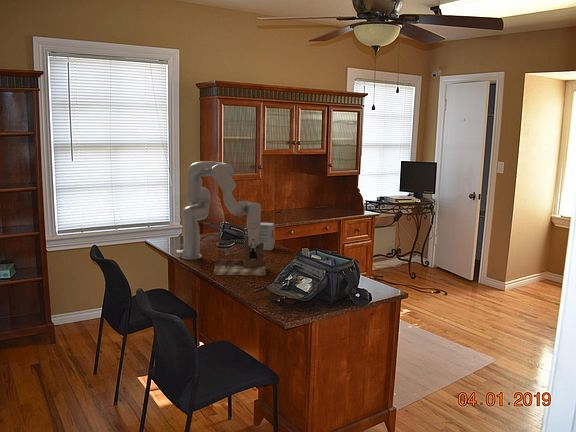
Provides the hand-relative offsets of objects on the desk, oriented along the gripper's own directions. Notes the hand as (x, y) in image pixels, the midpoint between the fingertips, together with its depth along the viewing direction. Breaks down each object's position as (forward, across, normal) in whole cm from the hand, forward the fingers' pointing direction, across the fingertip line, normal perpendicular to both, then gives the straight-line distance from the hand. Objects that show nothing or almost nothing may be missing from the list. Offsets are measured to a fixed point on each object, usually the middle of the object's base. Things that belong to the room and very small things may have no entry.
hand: (252, 257), depth 282 cm
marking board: (+8, +3, -7) cm, 11 cm away
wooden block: (+6, 0, 0) cm, 6 cm away
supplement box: (+8, -52, +9) cm, 54 cm away
